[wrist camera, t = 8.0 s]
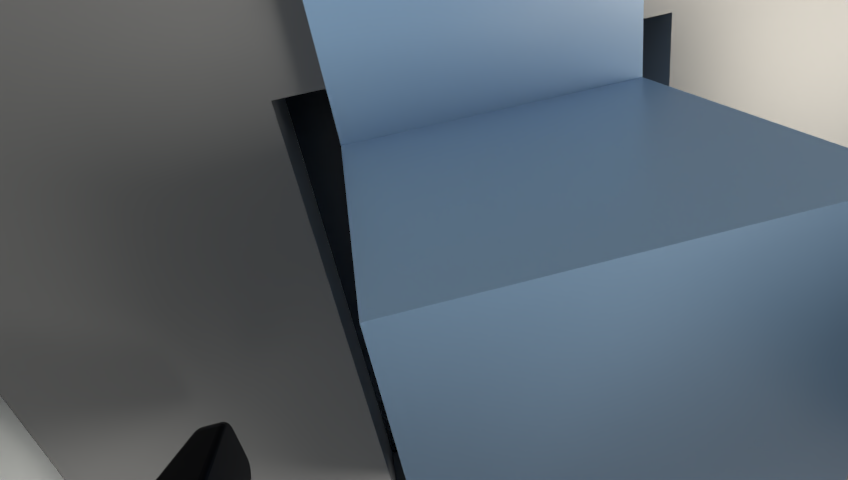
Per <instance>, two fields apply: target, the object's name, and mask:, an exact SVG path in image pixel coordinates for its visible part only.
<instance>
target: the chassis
mask: <svg viewBox="0 0 848 480" xmlns="http://www.w3.org/2000/svg"><path fill="white" fill-rule="evenodd" d="M643 78H646V79H649V80H652V81H655V82H658V83H661V84H664V85H667V86H670V87H673V88H675V89H678V90H681V91H684V92H687V93H690V94H693V95H696V96H699V97H702V98H704V99H707V100H710V101H713V102H716V103H719V104H722V105H725V106H728V107H731V108H734V109H736V110H739V111H742V112H745V113H748V114H751V115H754V116H757V117H760V118H763V119H765V120H768V121H771V122H774V123H777V124H780V125H783V126H786V127H789V128H792V129H795V130H797V131H800V132H803V133H806V134H809V135H812V136H815V137H818V138H821V139H824V140H826V141H829V142H832V143H835V144H838V145H841V146H844V147H847V148H848V0H644V14H643ZM322 89H326V87H325V83H324V79H323V76H322V72H321V68H320V64H319V61H318V57H317V53H316V49H315V45H314V42H313V38H312V34H311V30H310V27H309V23H308V19H307V15H306V11H305V8H304V4H303V0H0V395H1V397H2V398H3V399H4V400H5V402H6V403H7V404H8V406H9V407H10V408H11V410H12V411H13V412H14V414H15V415H16V416H17V418H18V419H19V420H20V422H21V423H22V424H23V426H24V427H25V428H26V429H27V431H28V432H29V433H30V435H31V436H32V437H33V439H34V440H35V441H36V443H37V444H38V445H39V447H40V448H41V449H42V451H43V452H44V453H45V454H46V456H47V457H48V458H49V460H50V461H51V462H52V464H53V465H54V466H55V468H56V469H57V470H58V472H59V473H60V474H61V476H62V477H63V478H64V480H156V479H157V478H158V476H159V475H160V474H161V473H162V471H163V470H164V469H165V468H166V466H167V465H168V464H169V463H170V461H171V460H172V459H173V458H174V457H175V455H176V454H177V453H178V452H179V450H180V449H181V448H182V447H183V445H184V444H185V443H186V442H187V440H188V439H189V438H190V437H191V436H192V434H193V433H194V432H195V431H196V430H197V429H199V428H201V427H204V426H208V425H212V424H215V423H219V422H227V423H229V424H230V425H231V426H232V428H233V430H234V432H235V434H236V436H237V438H238V440H239V442H240V444H241V446H242V448H243V450H244V452H245V454H246V456H247V458H248V460H249V464H250V469H251V480H406V478H405V475H404V471H403V468H402V465H401V461H400V458H399V455H398V452H395V453H393V452H392V449H391V446H390V442H389V439H388V436H387V433H386V429H385V426H384V423H383V419H382V416H381V413H380V410H379V406H378V403H377V400H376V396H375V393H374V390H373V386H372V383H371V380H370V377H369V373H368V370H367V367H366V363H365V360H364V357H363V353H362V350H361V347H360V344H359V340H358V337H357V334H356V330H355V327H354V324H353V321H352V317H351V314H350V311H349V307H348V304H347V301H346V297H345V294H344V291H343V288H342V284H341V281H340V278H339V274H338V271H337V268H336V265H335V261H334V258H333V255H332V251H331V248H330V245H329V241H328V238H327V235H326V232H325V228H324V225H323V222H322V218H321V215H320V212H319V209H318V205H317V202H316V199H315V195H314V192H313V189H312V185H311V182H310V179H309V176H308V172H307V169H306V166H305V162H304V159H303V156H302V152H301V149H300V146H299V143H298V139H297V136H296V133H295V129H294V126H293V123H292V120H291V116H290V113H289V110H288V106H287V103H286V100H285V98H286V97H290V96H295V95H299V94H304V93H309V92H313V91H318V90H322ZM846 480H848V476H847V479H846Z"/></svg>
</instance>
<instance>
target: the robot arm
mask: <svg viewBox="0 0 848 480" xmlns="http://www.w3.org/2000/svg"><path fill="white" fill-rule="evenodd" d="M156 480H251V469H250V464H249V460H248V458H247V456H246V454H245V452H244V450H243V448H242V446H241V444H240V442H239V440H238V438H237V436H236V434H235V432H234V430H233V428H232V426H231V425H230V424H229V423H227V422H219V423H215V424H212V425H208V426H204V427H201V428H199V429H197V430H196V431H195V432H194V433H193V434H192V436H191V437H190V438H189V439H188V440H187V442H186V443H185V444H184V445H183V447H182V448H181V449H180V450H179V452H178V453H177V454H176V455H175V457H174V458H173V459H172V460H171V461H170V463H169V464H168V465H167V466H166V468H165V469H164V470H163V471H162V473H161V474H160V475H159V476H158V478H157V479H156Z"/></svg>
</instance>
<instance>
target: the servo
mask: <svg viewBox="0 0 848 480" xmlns="http://www.w3.org/2000/svg"><path fill="white" fill-rule="evenodd" d="M303 4H304V8H305V11H306V15H307V19H308V23H309V27H310V30H311V34H312V38H313V42H314V45H315V49H316V53H317V57H318V61H319V64H320V68H321V72H322V76H323V79H324V83H325V87H326V91H327V95H328V98H329V102H330V106H331V110H332V113H333V117H334V121H335V125H336V129H337V132H338V136H339V140H340V144H341V150H342V160H343V169H344V179H345V189H346V198H347V208H348V217H349V227H350V237H351V246H352V256H353V265H354V275H355V285H356V294H357V304H358V313H359V323H360V326H361V330H362V333H363V336H364V340H365V343H366V347H367V350H368V353H369V357H370V360H371V363H372V367H373V370H374V374H375V377H376V380H377V384H378V387H379V390H380V394H381V397H382V401H383V404H384V407H385V411H386V414H387V417H388V421H389V424H390V428H391V431H392V434H393V438H394V441H395V444H396V448H397V451H398V455H399V458H400V461H401V465H402V468H403V471H404V475H405V478H406V480H846V479H847V476H848V148H847V147H844V146H841V145H838V144H835V143H832V142H829V141H826V140H824V139H821V138H818V137H815V136H812V135H809V134H806V133H803V132H800V131H797V130H795V129H792V128H789V127H786V126H783V125H780V124H777V123H774V122H771V121H768V120H765V119H763V118H760V117H757V116H754V115H751V114H748V113H745V112H742V111H739V110H736V109H734V108H731V107H728V106H725V105H722V104H719V103H716V102H713V101H710V100H707V99H704V98H702V97H699V96H696V95H693V94H690V93H687V92H684V91H681V90H678V89H675V88H673V87H670V86H667V85H664V84H661V83H658V82H655V81H652V80H649V79H646V78H643V14H644V0H303Z"/></svg>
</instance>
